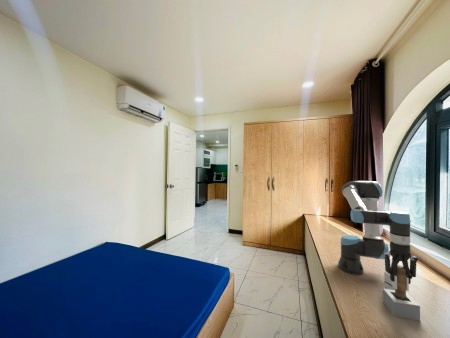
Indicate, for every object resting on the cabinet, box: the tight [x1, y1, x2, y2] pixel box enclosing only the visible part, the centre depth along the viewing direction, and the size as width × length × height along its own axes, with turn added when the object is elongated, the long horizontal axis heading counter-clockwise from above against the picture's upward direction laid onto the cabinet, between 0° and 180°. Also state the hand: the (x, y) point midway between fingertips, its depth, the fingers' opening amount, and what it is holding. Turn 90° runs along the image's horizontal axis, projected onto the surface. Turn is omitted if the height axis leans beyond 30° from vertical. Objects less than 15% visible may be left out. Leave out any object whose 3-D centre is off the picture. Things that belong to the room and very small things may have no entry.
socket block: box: [382, 287, 421, 322], centre depth 91 cm, size 10×10×7 cm
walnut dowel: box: [395, 264, 407, 299], centre depth 91 cm, size 4×4×15 cm
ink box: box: [383, 271, 395, 290], centre depth 104 cm, size 9×5×12 cm, turn 92°
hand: (400, 288), depth 92 cm, fingers closed on walnut dowel, 4 cm apart
